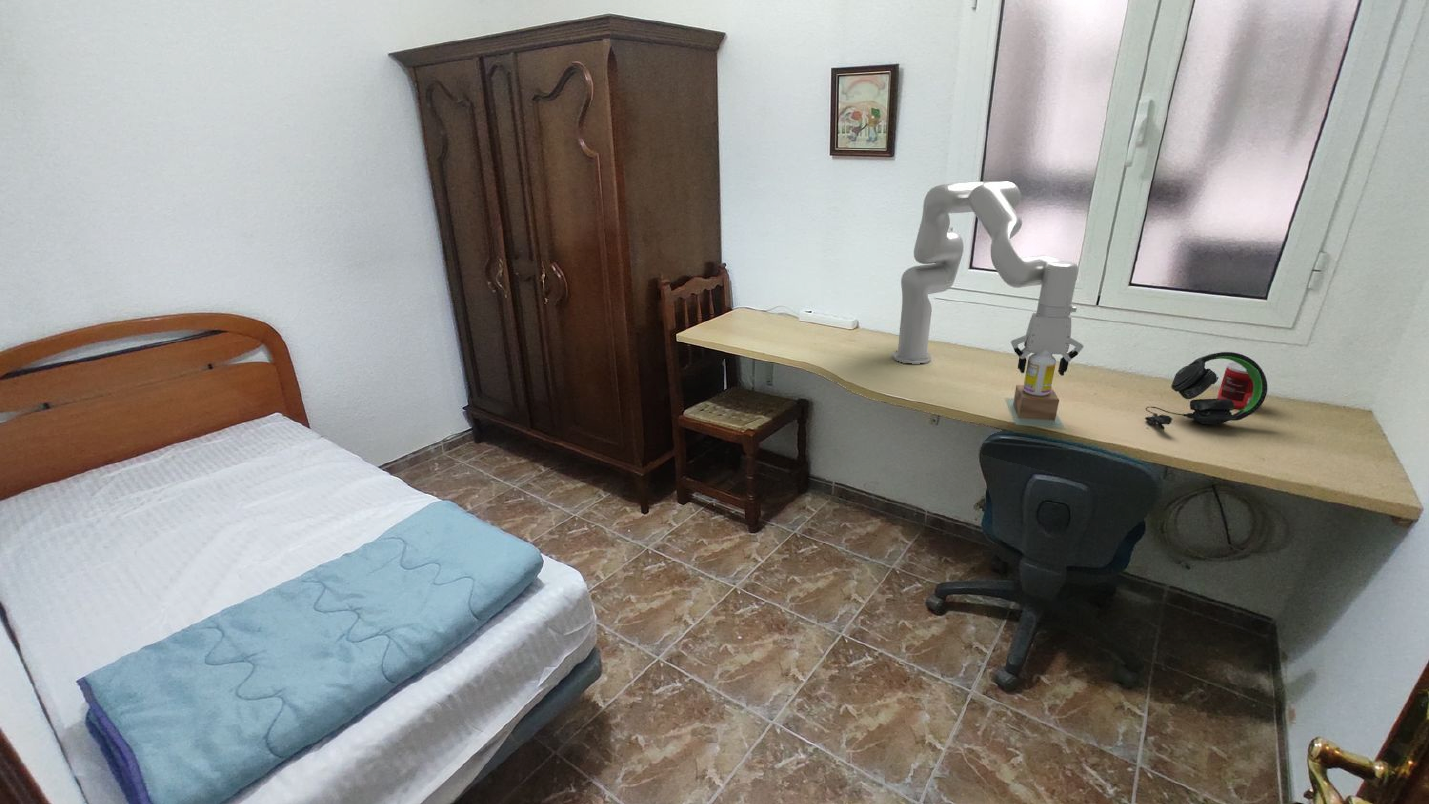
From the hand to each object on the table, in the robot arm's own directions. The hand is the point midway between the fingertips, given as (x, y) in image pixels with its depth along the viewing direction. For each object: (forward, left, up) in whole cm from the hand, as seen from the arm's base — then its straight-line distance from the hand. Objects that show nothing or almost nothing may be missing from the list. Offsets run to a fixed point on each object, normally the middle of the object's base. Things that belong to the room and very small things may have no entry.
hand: (1041, 372), depth 171 cm
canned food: (-18, +55, -12) cm, 59 cm away
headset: (-2, +41, -13) cm, 43 cm away
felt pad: (0, 0, -12) cm, 12 cm away
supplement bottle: (0, 0, -6) cm, 6 cm away
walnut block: (0, 0, -12) cm, 12 cm away
